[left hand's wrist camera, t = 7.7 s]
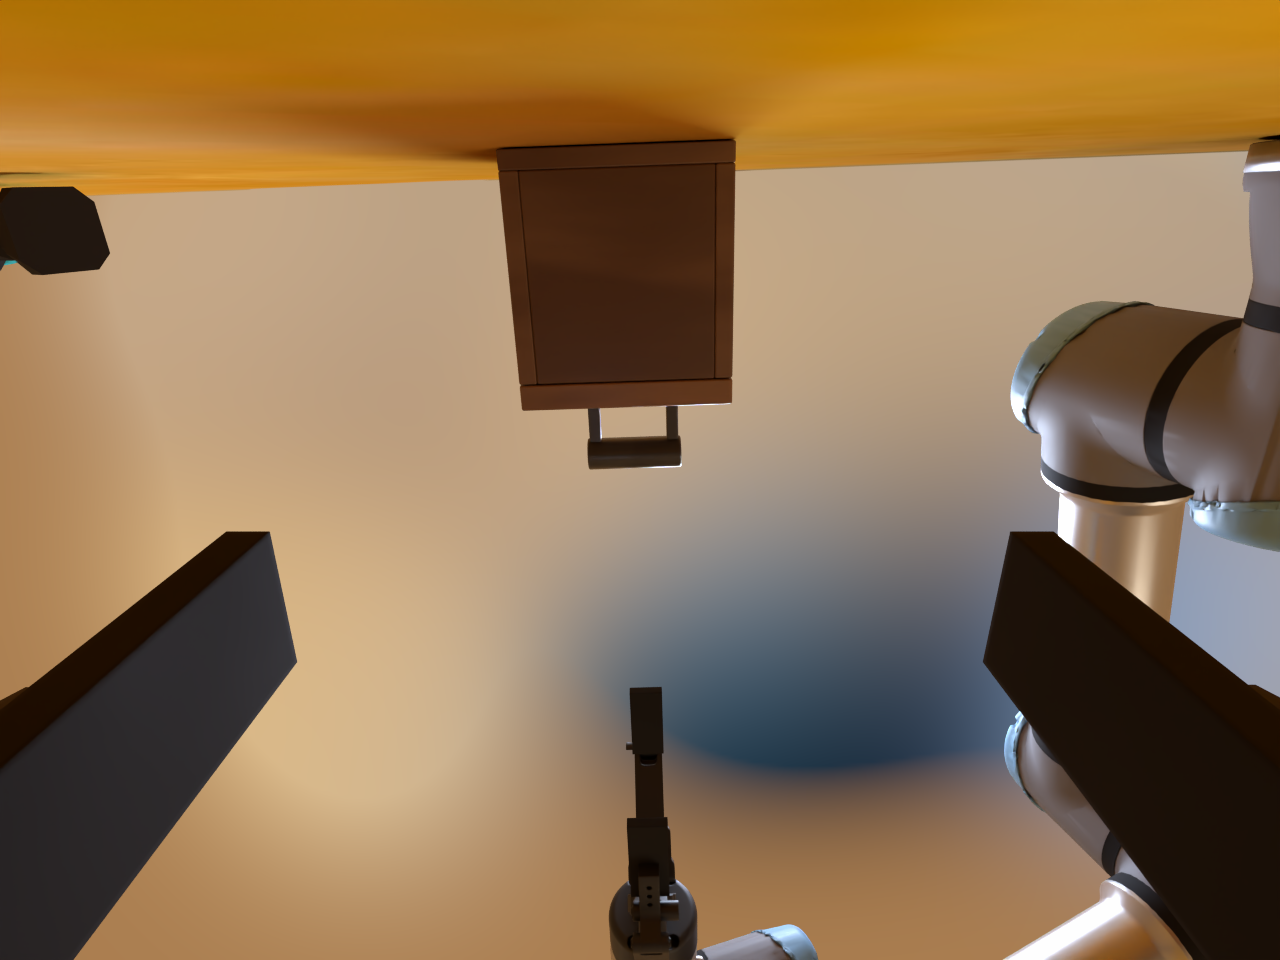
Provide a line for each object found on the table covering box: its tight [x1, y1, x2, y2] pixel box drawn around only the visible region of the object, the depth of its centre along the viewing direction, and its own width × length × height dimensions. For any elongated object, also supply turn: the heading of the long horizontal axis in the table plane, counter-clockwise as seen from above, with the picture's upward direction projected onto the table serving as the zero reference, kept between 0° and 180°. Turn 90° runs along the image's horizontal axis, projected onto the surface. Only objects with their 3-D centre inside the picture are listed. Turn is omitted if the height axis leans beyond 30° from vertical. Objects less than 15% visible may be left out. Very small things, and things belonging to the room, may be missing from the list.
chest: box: [496, 140, 736, 385], centre depth 35 cm, size 15×9×9 cm, turn 0°
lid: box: [520, 376, 732, 469], centre depth 39 cm, size 16×9×9 cm, turn 0°
